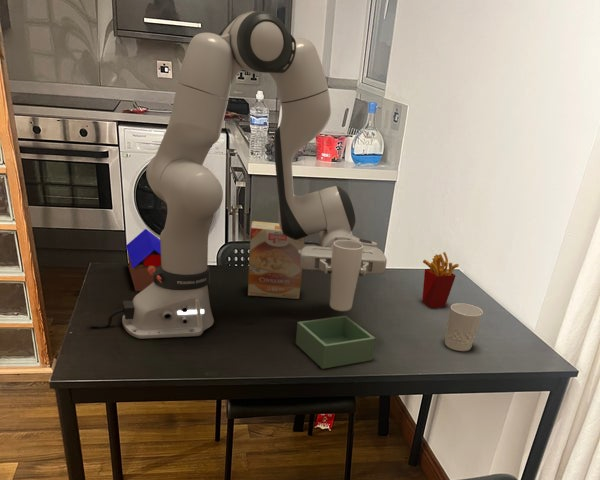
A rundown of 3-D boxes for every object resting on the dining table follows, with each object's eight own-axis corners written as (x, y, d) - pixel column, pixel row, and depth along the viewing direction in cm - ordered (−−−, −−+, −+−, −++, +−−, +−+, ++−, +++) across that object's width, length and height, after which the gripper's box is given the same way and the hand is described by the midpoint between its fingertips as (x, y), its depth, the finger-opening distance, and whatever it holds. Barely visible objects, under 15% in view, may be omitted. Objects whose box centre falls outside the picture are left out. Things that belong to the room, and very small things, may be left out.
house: (167, 266, 186) (166, 228, 180) (177, 289, 170) (177, 249, 164) (127, 267, 182) (124, 228, 176) (134, 291, 166) (131, 250, 160)
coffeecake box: (247, 295, 170) (250, 227, 160) (248, 286, 176) (251, 220, 166) (299, 299, 171) (305, 231, 161) (299, 290, 177) (305, 224, 167)
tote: (322, 369, 136) (325, 346, 133) (295, 343, 146) (297, 321, 143) (372, 360, 142) (375, 338, 139) (343, 336, 152) (345, 315, 149)
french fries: (449, 307, 175) (460, 257, 168) (425, 310, 172) (436, 259, 165) (432, 296, 182) (442, 248, 174) (409, 298, 179) (419, 249, 171)
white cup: (440, 337, 157) (448, 301, 151) (469, 340, 157) (478, 304, 152) (445, 351, 150) (453, 314, 145) (476, 353, 150) (486, 317, 145)
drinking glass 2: (355, 303, 142) (363, 241, 135) (354, 314, 137) (363, 250, 129) (326, 300, 143) (333, 238, 135) (325, 311, 137) (332, 247, 129)
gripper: (298, 236, 144) (300, 254, 132) (382, 242, 145) (392, 261, 133) (296, 262, 147) (298, 282, 135) (378, 267, 148) (387, 288, 137)
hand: (345, 271), depth 134 cm, fingers closed on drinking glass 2, 6 cm apart
